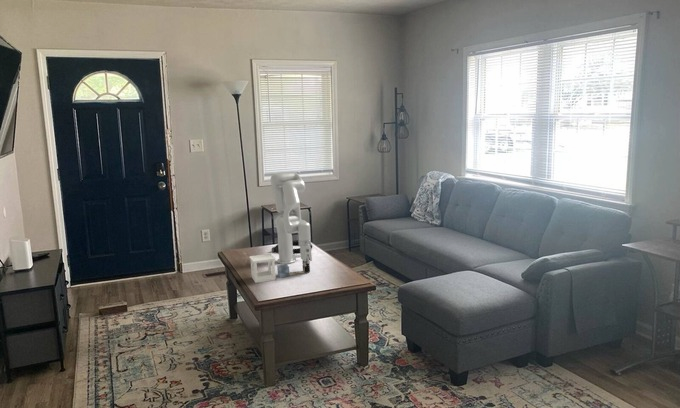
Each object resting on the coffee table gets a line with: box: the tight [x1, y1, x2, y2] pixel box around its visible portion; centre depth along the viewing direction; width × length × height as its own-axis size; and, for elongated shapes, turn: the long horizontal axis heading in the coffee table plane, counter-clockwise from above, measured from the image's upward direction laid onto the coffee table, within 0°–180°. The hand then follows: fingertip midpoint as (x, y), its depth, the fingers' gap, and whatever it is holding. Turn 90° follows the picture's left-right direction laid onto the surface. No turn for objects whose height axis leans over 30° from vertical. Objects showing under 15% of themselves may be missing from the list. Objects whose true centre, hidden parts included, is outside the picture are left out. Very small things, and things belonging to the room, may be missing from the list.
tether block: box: [276, 262, 310, 278], centre depth 320 cm, size 19×6×6 cm, turn 110°
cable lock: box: [271, 240, 313, 254], centre depth 381 cm, size 28×4×30 cm
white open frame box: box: [249, 253, 276, 284], centre depth 313 cm, size 13×13×13 cm
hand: (306, 270), depth 323 cm, fingers closed on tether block, 3 cm apart
